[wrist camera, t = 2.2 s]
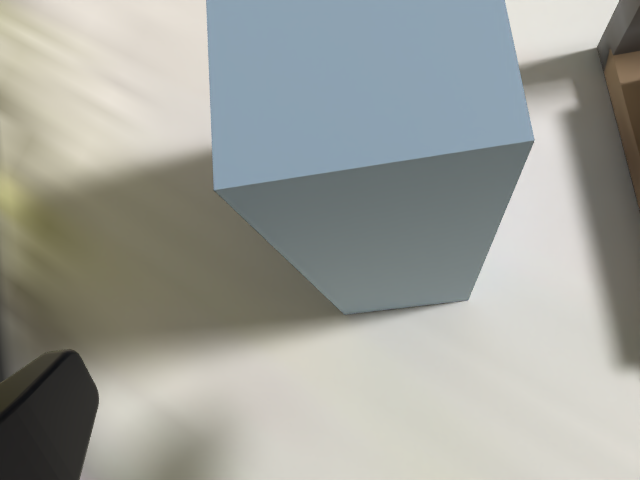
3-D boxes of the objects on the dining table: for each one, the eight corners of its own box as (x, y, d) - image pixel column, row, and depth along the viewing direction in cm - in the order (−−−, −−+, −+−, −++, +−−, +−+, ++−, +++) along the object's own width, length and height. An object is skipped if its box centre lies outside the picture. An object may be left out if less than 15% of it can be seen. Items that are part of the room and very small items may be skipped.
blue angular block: (468, 300, 18) (534, 139, 7) (344, 314, 19) (213, 190, 7) (436, 104, 20) (446, -275, 9) (324, 123, 21) (197, -209, 9)
